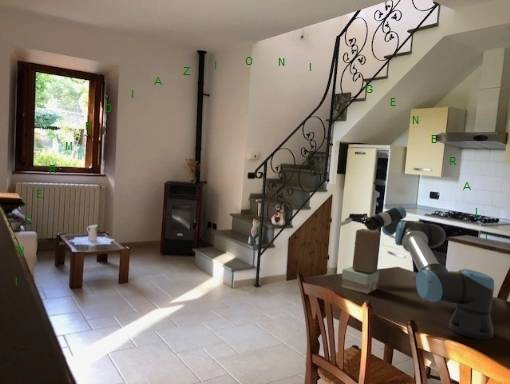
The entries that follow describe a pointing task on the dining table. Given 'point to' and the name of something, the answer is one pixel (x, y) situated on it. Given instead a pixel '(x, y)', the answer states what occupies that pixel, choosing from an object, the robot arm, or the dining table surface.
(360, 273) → the tower top slab
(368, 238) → the block
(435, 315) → the dining table surface
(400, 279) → the dining table surface
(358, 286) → the tower base slab
